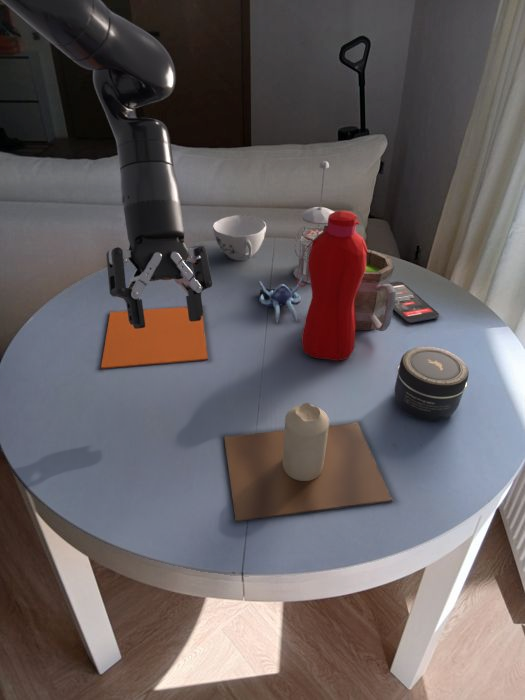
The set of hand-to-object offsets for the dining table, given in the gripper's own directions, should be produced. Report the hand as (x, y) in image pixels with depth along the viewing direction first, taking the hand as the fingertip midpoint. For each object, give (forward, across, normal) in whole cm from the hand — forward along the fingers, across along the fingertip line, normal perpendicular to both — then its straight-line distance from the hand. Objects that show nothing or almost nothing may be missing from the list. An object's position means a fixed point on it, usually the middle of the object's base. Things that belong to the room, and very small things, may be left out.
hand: (168, 324), depth 67 cm
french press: (-6, +49, +20) cm, 53 cm away
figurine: (0, +34, +16) cm, 38 cm away
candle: (+21, +11, -12) cm, 27 cm away
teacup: (-13, +41, +36) cm, 56 cm away
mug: (+5, +44, +3) cm, 44 cm away
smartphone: (+2, +56, +2) cm, 56 cm away
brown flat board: (+21, +11, -12) cm, 27 cm away
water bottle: (+8, +32, +3) cm, 33 cm away
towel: (+2, +10, +24) cm, 26 cm away
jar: (+18, +34, -16) cm, 42 cm away
